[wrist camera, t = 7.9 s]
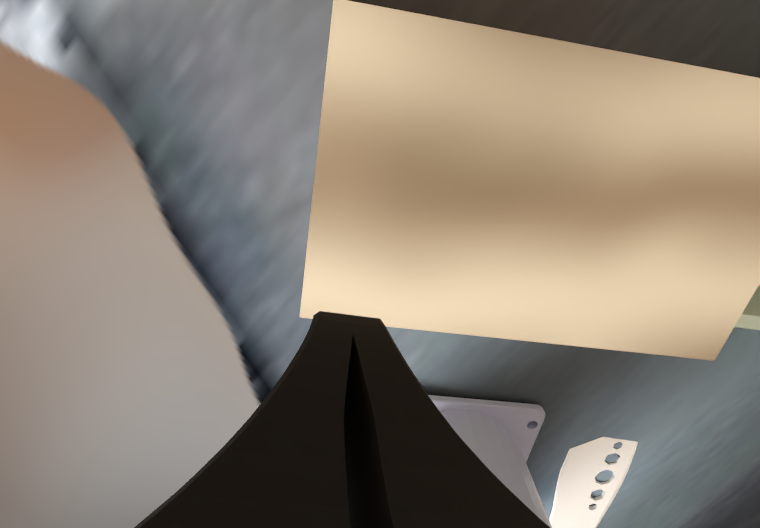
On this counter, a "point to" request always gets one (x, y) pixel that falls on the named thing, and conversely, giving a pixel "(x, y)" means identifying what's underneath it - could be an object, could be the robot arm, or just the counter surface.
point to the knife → (589, 482)
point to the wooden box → (531, 188)
